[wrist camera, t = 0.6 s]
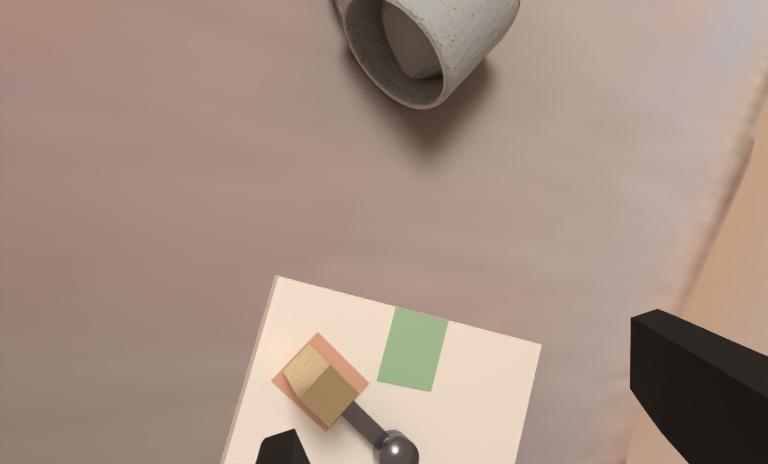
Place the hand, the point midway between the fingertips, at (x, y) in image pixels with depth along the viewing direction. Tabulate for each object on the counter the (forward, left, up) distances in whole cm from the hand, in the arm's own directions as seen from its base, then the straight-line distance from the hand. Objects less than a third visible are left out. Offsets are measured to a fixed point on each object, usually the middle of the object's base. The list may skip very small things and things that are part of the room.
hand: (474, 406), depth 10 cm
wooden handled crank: (-5, -4, -18) cm, 20 cm away
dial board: (-7, -7, -20) cm, 23 cm away
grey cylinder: (+18, -1, -21) cm, 28 cm away
